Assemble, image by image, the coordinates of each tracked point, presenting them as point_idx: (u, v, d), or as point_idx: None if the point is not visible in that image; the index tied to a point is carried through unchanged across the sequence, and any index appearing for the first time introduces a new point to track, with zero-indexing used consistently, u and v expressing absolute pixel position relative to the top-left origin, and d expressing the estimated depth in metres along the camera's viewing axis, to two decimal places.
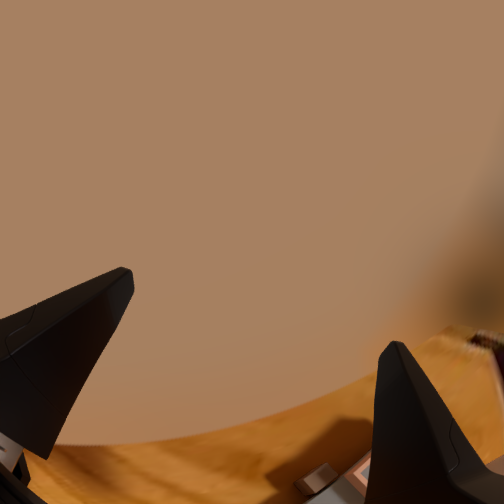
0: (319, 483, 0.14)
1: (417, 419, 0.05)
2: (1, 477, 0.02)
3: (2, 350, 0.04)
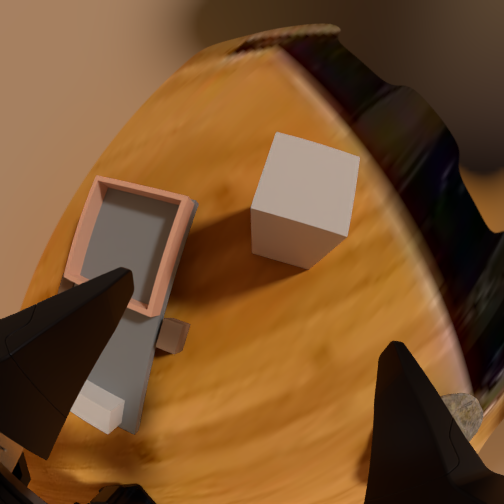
0: None
1: (417, 419, 0.05)
2: (1, 477, 0.02)
3: (2, 350, 0.04)
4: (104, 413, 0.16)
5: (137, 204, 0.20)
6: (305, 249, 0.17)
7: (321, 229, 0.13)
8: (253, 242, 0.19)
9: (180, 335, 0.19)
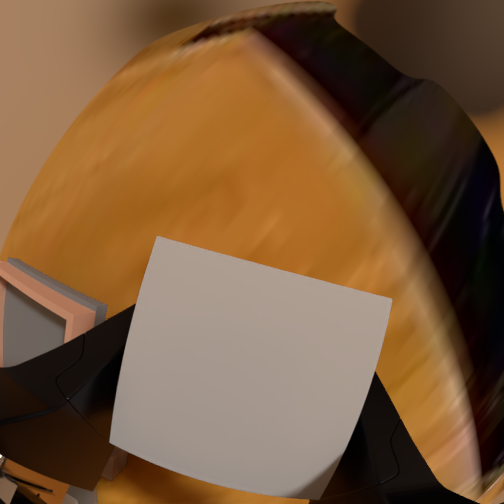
0: None
1: None
2: None
3: (55, 395, 0.03)
4: None
5: (35, 301, 0.12)
6: None
7: (262, 492, 0.04)
8: None
9: (113, 465, 0.10)
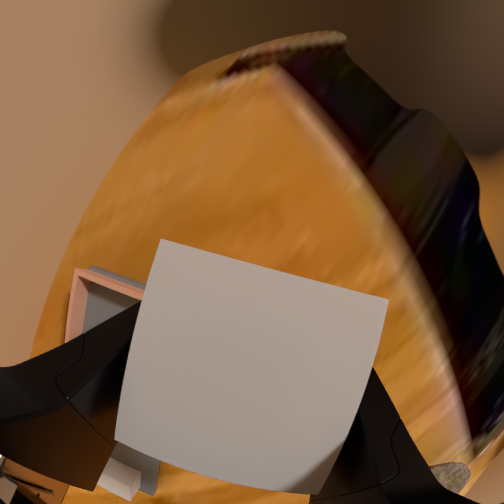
0: None
1: None
2: None
3: (55, 394, 0.03)
4: (124, 487, 0.14)
5: (125, 300, 0.18)
6: None
7: (263, 487, 0.04)
8: None
9: None
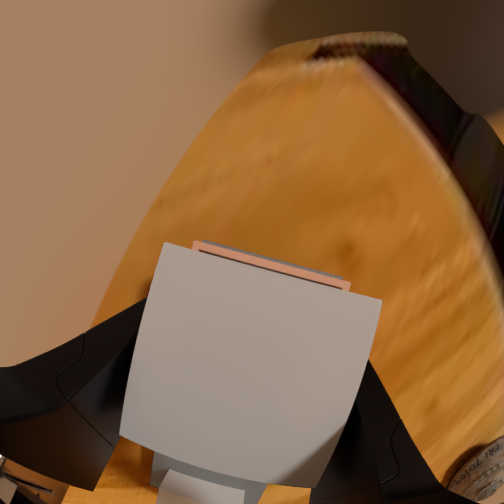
0: None
1: (354, 416, 0.05)
2: None
3: (55, 395, 0.03)
4: None
5: None
6: None
7: (262, 480, 0.05)
8: None
9: None
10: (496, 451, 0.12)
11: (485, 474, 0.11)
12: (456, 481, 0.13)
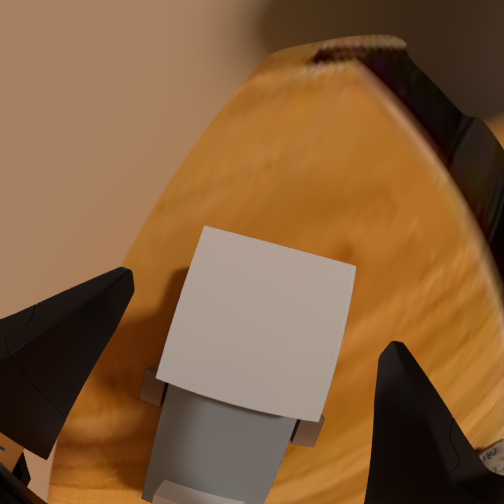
0: (154, 395, 0.16)
1: (417, 419, 0.05)
2: (1, 477, 0.02)
3: (2, 350, 0.04)
4: None
5: None
6: None
7: (275, 413, 0.07)
8: None
9: (320, 428, 0.15)
10: (493, 455, 0.12)
11: None
12: None
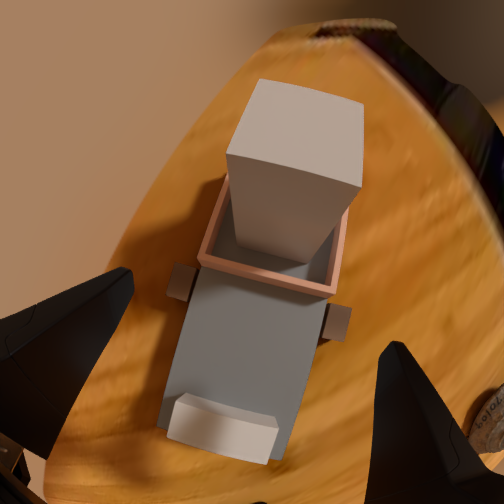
0: (182, 289, 0.18)
1: (417, 419, 0.05)
2: (1, 477, 0.02)
3: (2, 350, 0.04)
4: (266, 435, 0.13)
5: None
6: (302, 224, 0.13)
7: (325, 178, 0.09)
8: (236, 224, 0.15)
9: (348, 319, 0.17)
10: None
11: None
12: (478, 424, 0.15)
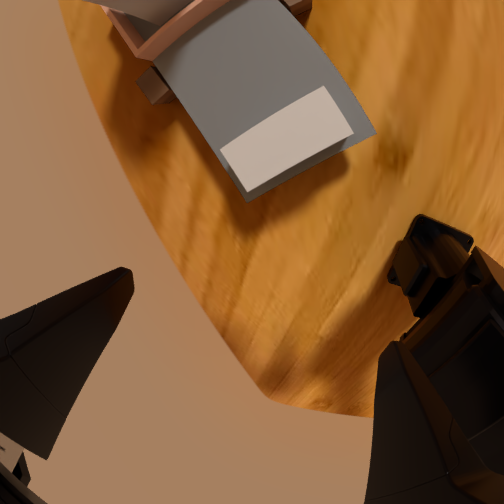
0: (157, 86, 0.15)
1: (417, 419, 0.05)
2: (1, 477, 0.02)
3: (2, 350, 0.04)
4: (320, 101, 0.11)
5: None
6: None
7: None
8: (128, 11, 0.09)
9: None
10: None
11: None
12: None
